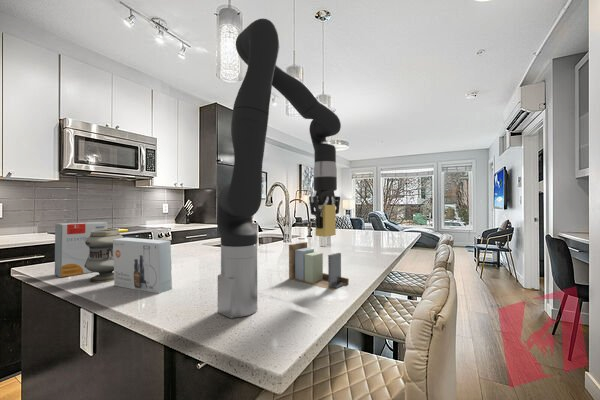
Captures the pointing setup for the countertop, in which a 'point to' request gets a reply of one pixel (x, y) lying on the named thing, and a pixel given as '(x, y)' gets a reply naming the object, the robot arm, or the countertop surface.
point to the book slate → (301, 262)
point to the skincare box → (142, 264)
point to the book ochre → (327, 221)
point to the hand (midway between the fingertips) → (325, 227)
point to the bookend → (334, 271)
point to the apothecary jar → (102, 254)
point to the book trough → (320, 283)
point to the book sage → (313, 267)
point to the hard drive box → (73, 247)
